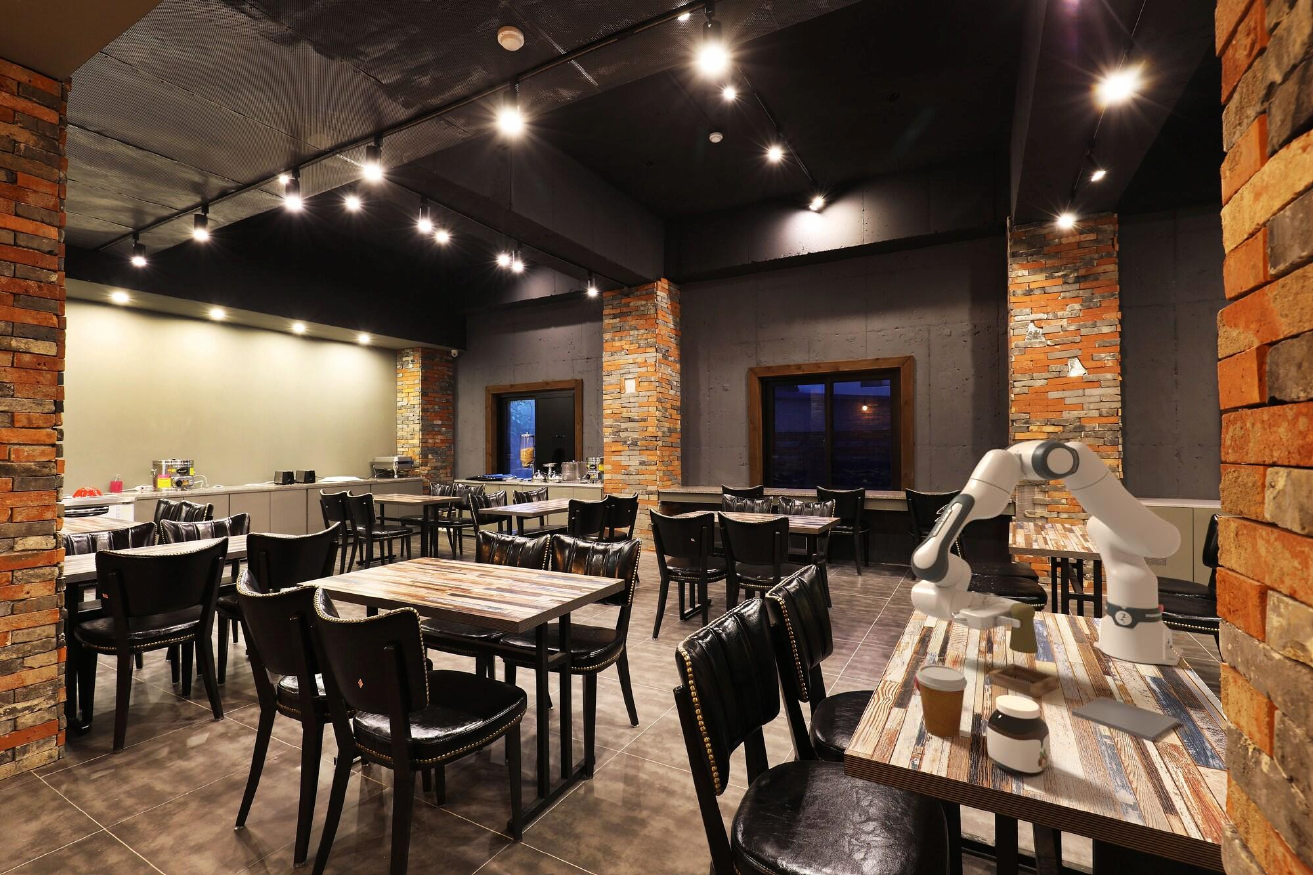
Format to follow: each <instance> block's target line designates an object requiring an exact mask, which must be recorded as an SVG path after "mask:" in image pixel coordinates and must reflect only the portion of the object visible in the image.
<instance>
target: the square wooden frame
mask: <svg viewBox="0 0 1313 875" xmlns="http://www.w3.org/2000/svg"><path fill="white" fill-rule="evenodd" d="M1014 677H1016V678H1014ZM1017 677H1018V678H1021V679H1024V680H1027V681H1030V682H1032V683H1030V682H1026V681H1023V680H1020V679H1017ZM1059 679H1060V678H1059V676H1058V675H1057V676H1056V675H1052V674H1050V673H1046V672H1042V671H1039V670H1035V669H1032V668H1029V667H1025V666H1022V665H1020V664H1015V663H1010V664H1007V665H1004V666H1002V667H999V668H997V669H994V670H991V671H989V672H988V683H989V684H992V685H996V686H999V687H1002V688H1004V689H1007V690H1010V691H1013V692H1016V693H1019V694H1023V695H1026V696H1029V697H1032V698H1035V699H1036V698H1039V697H1041V696H1043V695H1045V694H1048V693H1049V692H1052V691H1054V690H1056V689H1058V688H1060V684H1059V682H1060V681H1059ZM1033 682H1034V683H1033Z"/></svg>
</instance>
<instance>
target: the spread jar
mask: <svg viewBox="0 0 1313 875" xmlns="http://www.w3.org/2000/svg"><path fill="white" fill-rule="evenodd" d="M1040 713H1041V712H1040V706H1039V704H1038V703H1036V702H1035V701H1033V700H1031V699H1029V698H1025V697H1022V696H1018V695H1009V694H1007V695H1006V694H1004V695H999V696H997V697H996V698H995V709H994V711H993V712H992V713H991V714H990V716H989V717H988V720H987V725H986V727H985V736H986V744H987V745H986V747H987V748H986V749H987V753H988V757H989V759H991V761H992V762H993V763H994V764H995V765H997V766H998V767H999V768H1000V769H1002V770H1003V771H1005V772H1006V773H1009V774H1011V775H1015V776H1017V777H1022V778H1037V777H1038V776H1040V775H1042V774H1043V773H1044V772H1045V770H1046V769H1047V768H1048V765H1049V763H1050V757H1051V741H1050V739H1051V738H1050V729H1049V726H1048V724H1047V722H1046V721H1045V720H1044V719H1043V718H1042V717H1041V716H1040Z"/></svg>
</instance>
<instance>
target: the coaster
mask: <svg viewBox="0 0 1313 875" xmlns="http://www.w3.org/2000/svg"><path fill="white" fill-rule="evenodd" d="M1071 715H1072V716H1074V717H1078V718H1080V719H1083V720H1085V721H1090V722H1093V723H1095V724H1099V725H1101V726H1105V727H1108V728H1111V729H1114V730H1117V731H1119V732H1122V733H1125V734H1128V735H1131V736H1134V737H1138V738H1141V739H1143V740H1146V741H1149V742H1153V741H1155V740H1156V739H1158V738H1160V737H1161V736H1163V735H1164V734H1165V733H1167V732H1169V731H1170V730H1171V729H1173V728H1174V727H1177V726H1178V725H1179V724H1180V719H1179V718H1176V717H1172V716H1169V715H1165V714H1162V713H1159V712H1155V711H1153V710H1149V709H1145V708H1142V707H1139V706H1135V705H1132V704H1129V703H1127V702H1122V701H1119V700H1116V699H1112V698H1110V697H1109V698H1108V697H1106V696H1104V695H1103V696H1102V695H1101V696H1099V697H1096V698H1095V699H1093V700H1091V701H1089V702H1087V703H1085V704H1083V705H1081V706H1079V707H1077V708H1075V709H1073V710H1072V711H1071Z"/></svg>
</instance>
